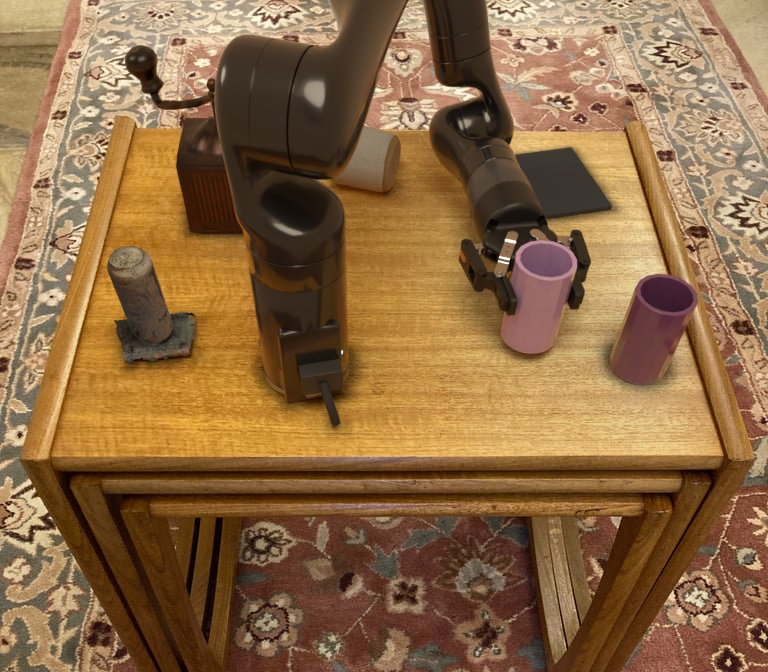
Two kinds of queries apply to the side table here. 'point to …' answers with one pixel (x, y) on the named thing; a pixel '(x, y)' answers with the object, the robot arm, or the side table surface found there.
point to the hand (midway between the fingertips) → (545, 306)
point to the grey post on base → (146, 310)
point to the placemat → (562, 183)
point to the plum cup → (652, 328)
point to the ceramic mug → (373, 161)
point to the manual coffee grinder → (193, 152)
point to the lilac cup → (538, 295)
